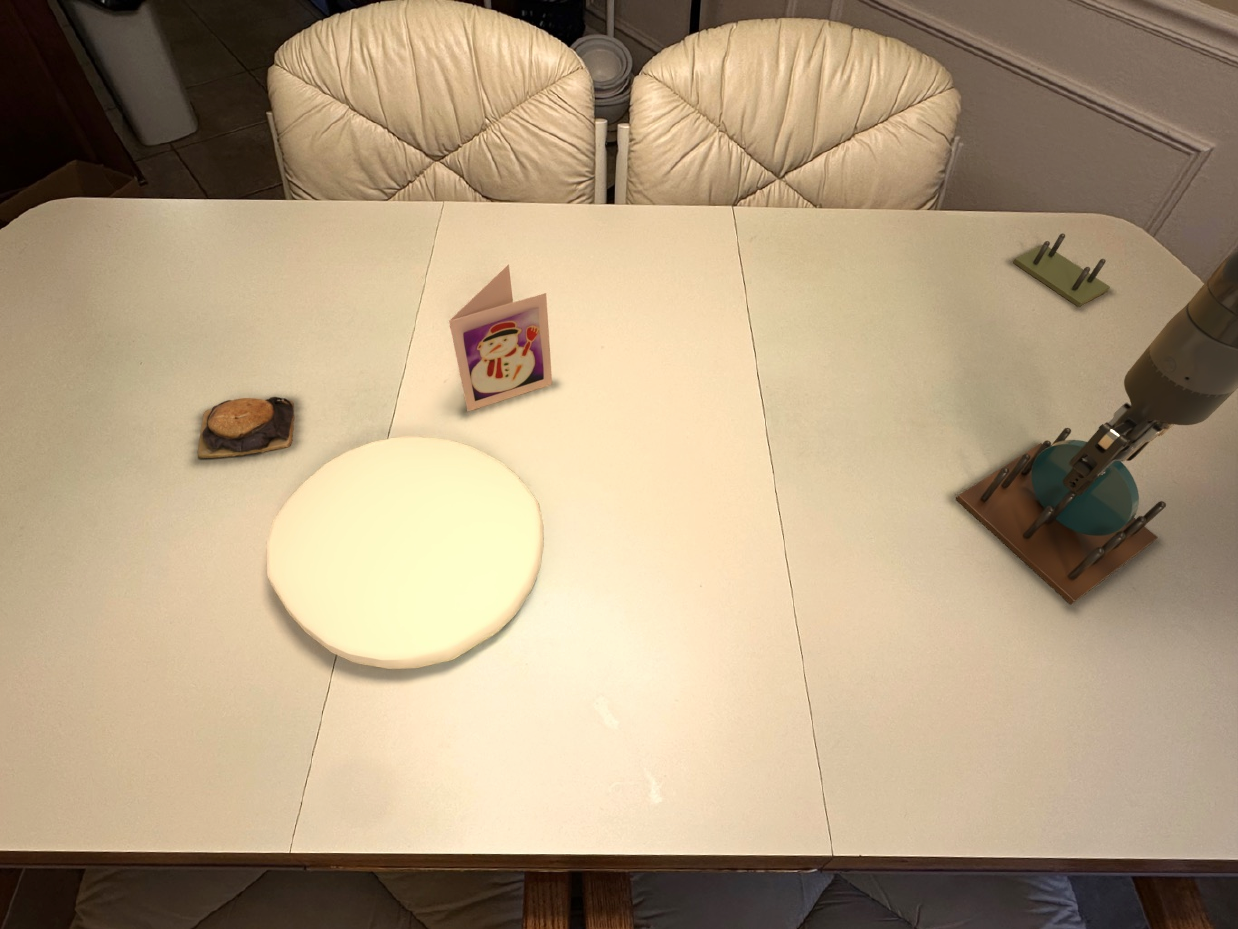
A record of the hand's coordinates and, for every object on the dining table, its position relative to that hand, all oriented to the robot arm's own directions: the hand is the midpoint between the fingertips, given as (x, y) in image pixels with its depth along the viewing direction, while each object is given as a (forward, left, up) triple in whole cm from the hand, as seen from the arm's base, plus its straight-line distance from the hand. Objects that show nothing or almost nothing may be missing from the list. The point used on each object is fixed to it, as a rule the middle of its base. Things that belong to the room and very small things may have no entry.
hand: (1097, 470), depth 78 cm
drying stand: (-38, -28, -9) cm, 48 cm away
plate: (+64, -34, -10) cm, 73 cm away
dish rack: (0, 0, -9) cm, 9 cm away
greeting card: (+44, -52, -10) cm, 69 cm away
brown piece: (+74, -61, -10) cm, 96 cm away
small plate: (0, 0, -9) cm, 9 cm away
